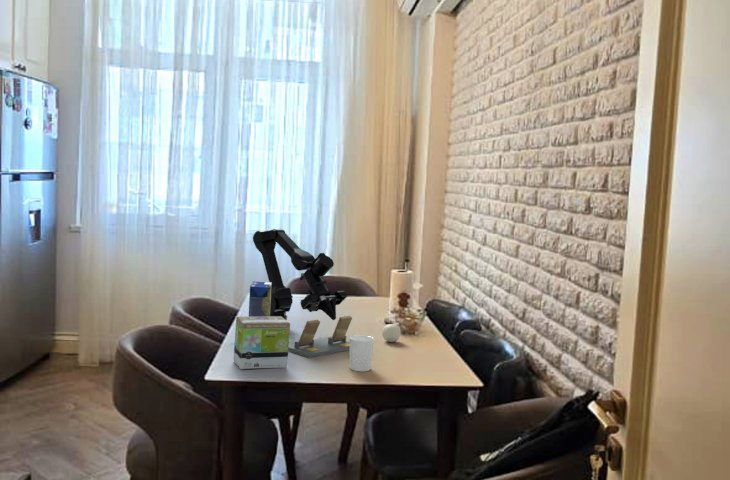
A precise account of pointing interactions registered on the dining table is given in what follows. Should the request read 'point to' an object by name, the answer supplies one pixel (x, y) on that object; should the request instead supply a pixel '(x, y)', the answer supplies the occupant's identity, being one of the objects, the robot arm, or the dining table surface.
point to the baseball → (391, 333)
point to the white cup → (361, 352)
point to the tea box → (261, 342)
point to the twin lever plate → (319, 347)
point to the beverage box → (260, 299)
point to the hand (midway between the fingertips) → (334, 319)
